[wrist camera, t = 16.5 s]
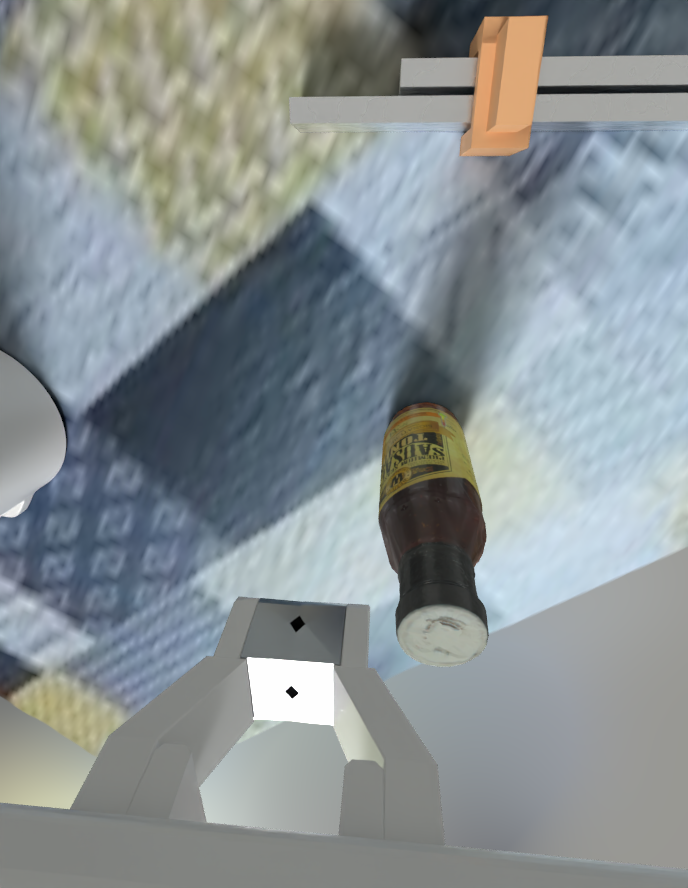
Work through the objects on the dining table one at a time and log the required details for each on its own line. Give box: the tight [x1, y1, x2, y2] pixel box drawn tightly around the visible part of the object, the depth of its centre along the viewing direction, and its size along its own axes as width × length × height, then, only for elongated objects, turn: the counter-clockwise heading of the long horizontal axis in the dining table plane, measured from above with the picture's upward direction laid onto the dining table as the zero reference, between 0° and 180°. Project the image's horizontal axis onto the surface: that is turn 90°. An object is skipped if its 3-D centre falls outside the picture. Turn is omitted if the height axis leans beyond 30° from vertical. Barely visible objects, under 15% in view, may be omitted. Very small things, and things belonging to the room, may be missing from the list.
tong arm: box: [399, 55, 688, 96], centre depth 26 cm, size 18×1×4 cm, turn 90°
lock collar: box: [459, 16, 548, 156], centre depth 25 cm, size 3×5×7 cm, turn 0°
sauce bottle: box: [378, 402, 489, 667], centre depth 29 cm, size 7×6×20 cm
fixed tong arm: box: [289, 93, 688, 133], centre depth 27 cm, size 24×1×4 cm, turn 90°
